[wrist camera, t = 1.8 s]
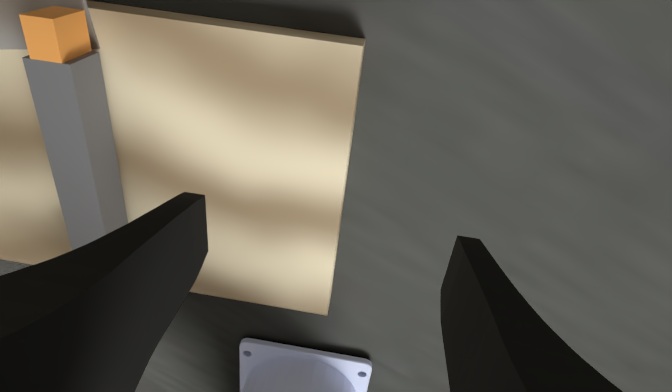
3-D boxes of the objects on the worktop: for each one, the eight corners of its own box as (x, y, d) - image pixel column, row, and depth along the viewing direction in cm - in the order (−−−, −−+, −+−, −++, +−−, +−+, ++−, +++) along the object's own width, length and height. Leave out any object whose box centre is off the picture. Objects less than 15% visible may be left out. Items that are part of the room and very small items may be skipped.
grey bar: (157, 302, 25) (131, 341, 22) (93, 291, 25) (61, 329, 23) (115, 14, 17) (70, 29, 15) (23, 1, 17) (-37, 14, 15)
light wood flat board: (330, 299, 25) (326, 318, 24) (-66, 231, 26) (-88, 246, 25) (368, 14, 17) (366, 21, 16) (-199, -63, 18) (-241, -62, 17)
